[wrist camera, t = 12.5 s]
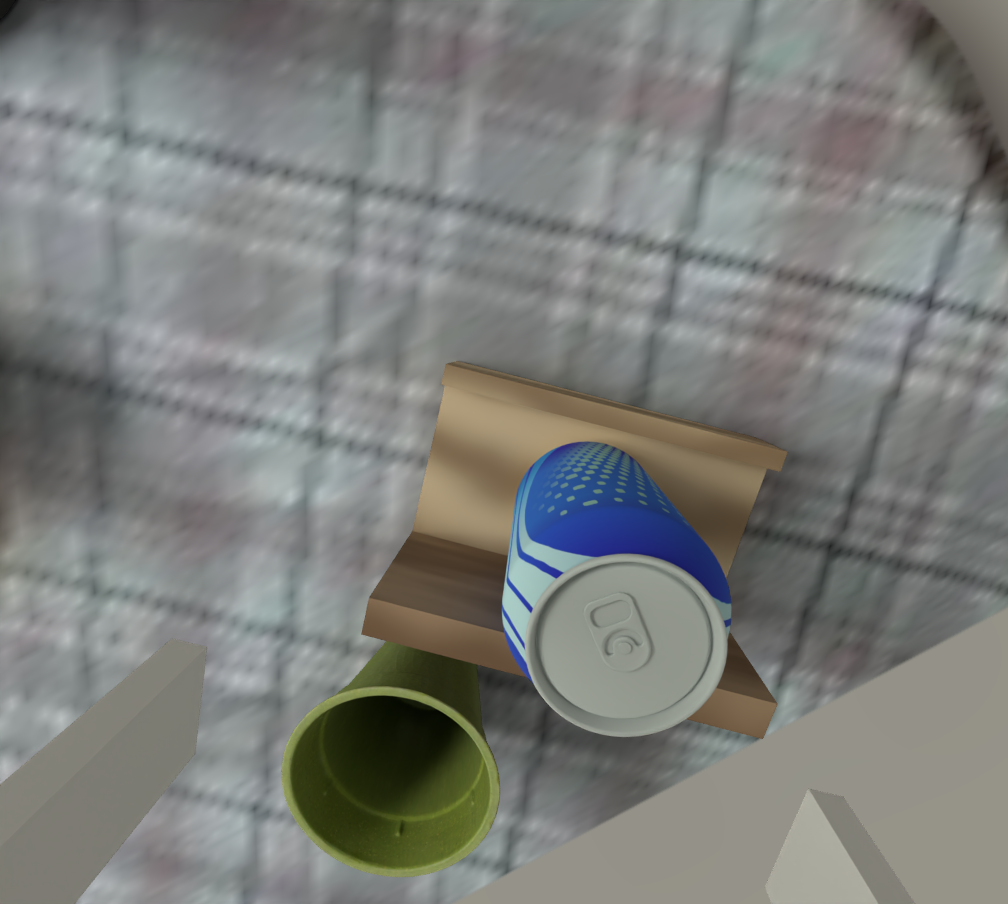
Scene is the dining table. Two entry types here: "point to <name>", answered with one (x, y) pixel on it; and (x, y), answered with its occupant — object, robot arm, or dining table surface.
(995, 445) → the dining table surface
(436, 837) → the plant pot
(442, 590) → the cleat board
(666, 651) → the beer can
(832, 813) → the robot arm
